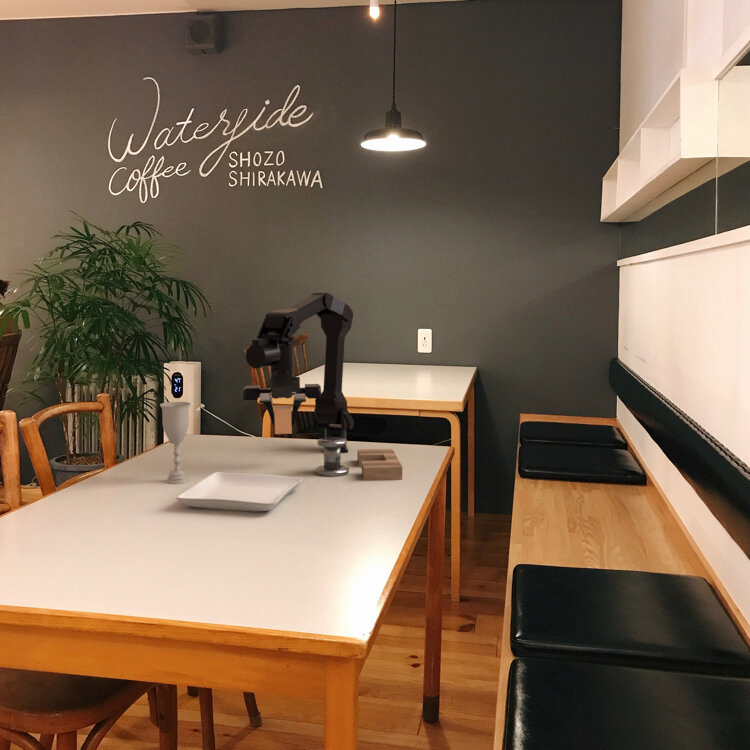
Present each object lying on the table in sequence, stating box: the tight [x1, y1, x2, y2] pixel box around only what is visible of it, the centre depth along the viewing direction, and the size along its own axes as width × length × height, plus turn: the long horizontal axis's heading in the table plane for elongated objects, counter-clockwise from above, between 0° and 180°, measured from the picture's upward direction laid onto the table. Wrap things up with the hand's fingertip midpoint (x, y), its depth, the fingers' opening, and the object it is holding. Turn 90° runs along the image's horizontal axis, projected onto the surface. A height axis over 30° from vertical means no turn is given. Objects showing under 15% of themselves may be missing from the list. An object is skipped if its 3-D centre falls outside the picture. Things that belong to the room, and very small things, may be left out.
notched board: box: [356, 448, 403, 481], centre depth 200 cm, size 20×9×3 cm, turn 6°
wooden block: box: [274, 405, 293, 435], centre depth 200 cm, size 5×4×6 cm
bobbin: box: [315, 437, 350, 478], centre depth 197 cm, size 8×8×8 cm
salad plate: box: [176, 471, 304, 513], centre depth 174 cm, size 21×21×3 cm
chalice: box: [159, 401, 191, 485], centre depth 188 cm, size 7×7×18 cm
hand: (283, 426), depth 201 cm, fingers closed on wooden block, 4 cm apart
